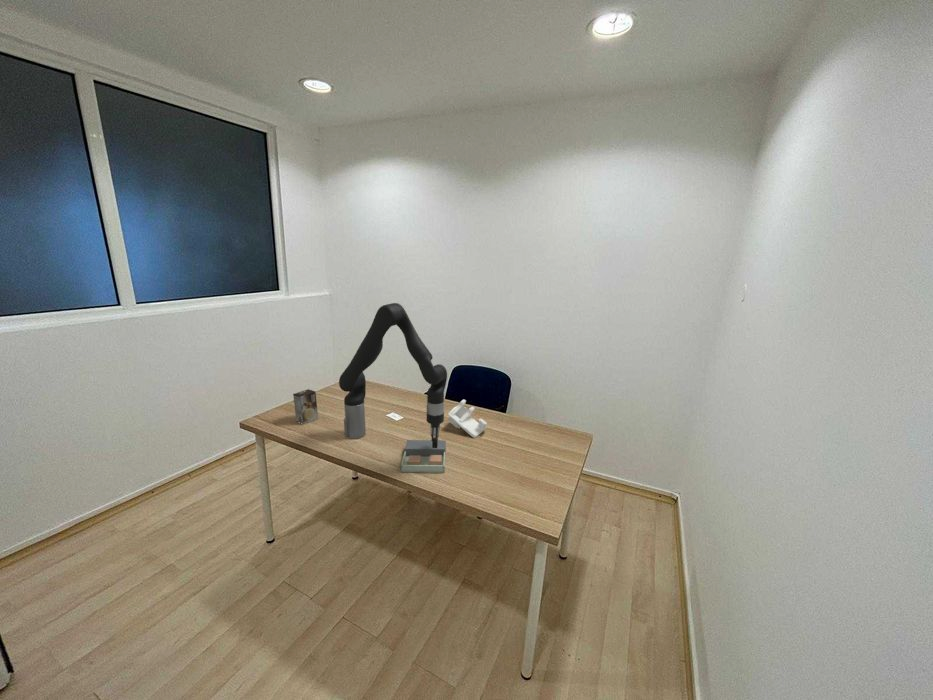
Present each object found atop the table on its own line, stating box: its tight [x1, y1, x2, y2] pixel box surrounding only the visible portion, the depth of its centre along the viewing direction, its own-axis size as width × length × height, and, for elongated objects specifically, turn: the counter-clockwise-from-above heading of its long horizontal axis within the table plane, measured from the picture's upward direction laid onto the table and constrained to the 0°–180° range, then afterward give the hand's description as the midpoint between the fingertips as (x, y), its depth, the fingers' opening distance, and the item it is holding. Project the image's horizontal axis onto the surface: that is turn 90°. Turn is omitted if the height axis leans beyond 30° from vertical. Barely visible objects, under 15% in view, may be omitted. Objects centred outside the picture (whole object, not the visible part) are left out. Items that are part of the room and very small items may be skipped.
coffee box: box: [292, 388, 319, 425], centre depth 187 cm, size 9×6×16 cm
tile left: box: [408, 455, 421, 465], centre depth 151 cm, size 5×5×2 cm
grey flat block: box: [404, 439, 447, 457], centre depth 161 cm, size 18×8×4 cm, turn 92°
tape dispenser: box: [447, 399, 488, 439], centre depth 182 cm, size 20×11×13 cm, turn 60°
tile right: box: [430, 455, 442, 465], centre depth 151 cm, size 5×5×2 cm
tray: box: [400, 450, 446, 474], centre depth 151 cm, size 18×11×3 cm, turn 92°
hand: (434, 447), depth 155 cm, fingers closed
